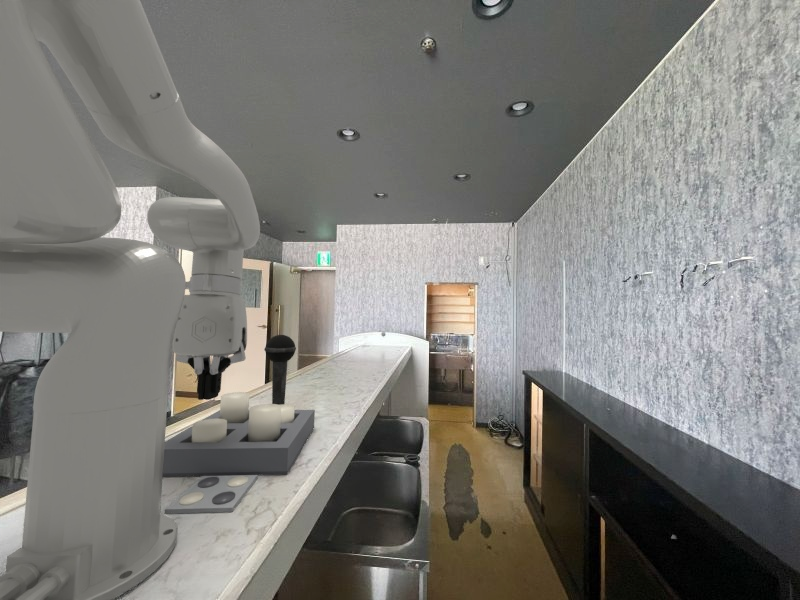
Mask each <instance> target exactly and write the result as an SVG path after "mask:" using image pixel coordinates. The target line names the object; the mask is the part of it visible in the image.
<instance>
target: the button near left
mask: <svg viewBox="0 0 800 600" xmlns="http://www.w3.org/2000/svg"><path fill="white" fill-rule="evenodd" d="M202 420H203V421H202ZM202 420H199V421H196V422H194V423H193V424H192V425H191V426H192V441H191V443H194V442H220V441H221V440H222V439H224V438H225V437H226V434H227V420H225V419H208V420H204V419H202Z"/></svg>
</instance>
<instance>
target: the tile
mask: <svg viewBox="0 0 800 600" xmlns="http://www.w3.org/2000/svg"><path fill="white" fill-rule="evenodd" d="M258 477H259V475H232V476H199V478H198V479H197V480H196V481H194V483H192V484H191V485H190V486H189V487H188V488H187V489H186V490H184V491H183V492H181V494H180V495H179V496H178V497H177V498H175V500H173V501H172V502H171V503H169V505H168V506H166V508H164V511H163V512H164V514H163V515H165V514H167V515H168V514H202V513H203V514H205V513H233V512H234V510H235V509H236V508H237V507H238V505H239V504H240V503H241V501H242V499H244V497H245V496H246V495H247V493H248V492H249V490H250V489H251V488H252V487H253V485H254V484H255V483H256V481H257V480H258Z"/></svg>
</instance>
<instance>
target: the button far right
mask: <svg viewBox="0 0 800 600" xmlns="http://www.w3.org/2000/svg"><path fill="white" fill-rule="evenodd" d="M280 406H281V423H293V421H294V410H296V409H295V405H293V404H289V403H288V404H287V403H286V404H281V405H280Z"/></svg>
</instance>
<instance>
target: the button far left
mask: <svg viewBox="0 0 800 600" xmlns="http://www.w3.org/2000/svg"><path fill="white" fill-rule="evenodd" d="M219 408H220V409H219V410H220V419H225V420H227V423H244V422H246V421H247V420H248V415H249V409H250V393H249V392H244V391H238V392H237V391H236V392H235V391H234V392H229V393H225V394H224V393H223V394H222V395H220V407H219Z"/></svg>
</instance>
